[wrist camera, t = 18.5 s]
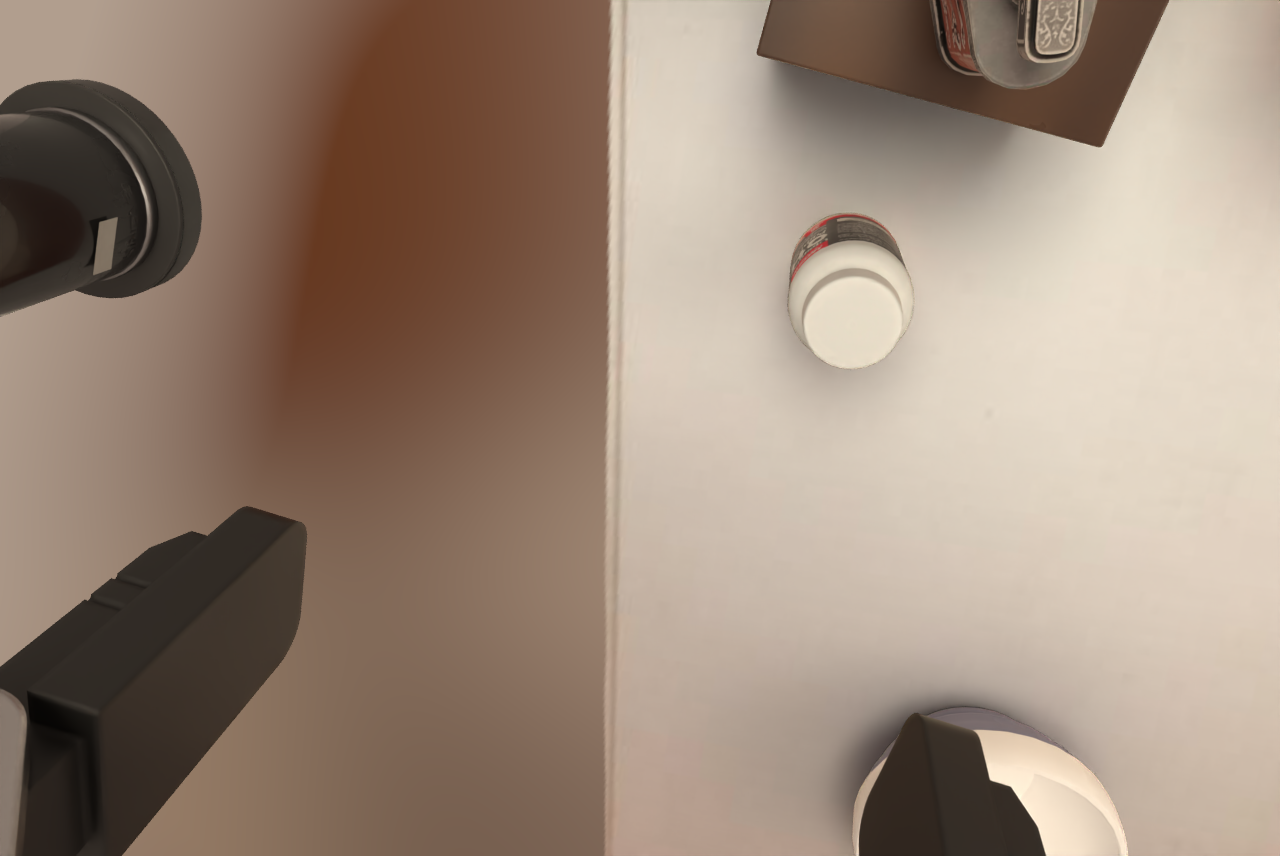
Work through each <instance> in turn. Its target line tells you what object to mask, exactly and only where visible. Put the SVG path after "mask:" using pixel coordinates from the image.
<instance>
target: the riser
mask: <svg viewBox="0 0 1280 856" xmlns="http://www.w3.org/2000/svg"><path fill="white" fill-rule="evenodd" d="M1168 2H1169V0H1097V4H1096V7H1095V11H1094V14H1093V18H1092V22H1091V25H1090V29H1089V32H1088V36H1087V40H1086V43H1085V46H1084V48H1083V50H1082V52H1081V54H1080V56H1079V58H1078V60H1077V62H1076V63H1075V64H1074V65H1073V66H1072V67H1071V68H1070V69H1069V70H1068V71H1067V72H1066V73H1065V74H1064V75H1063V76H1061V77H1059V78H1057V79H1056V80H1054V81H1052V82H1050V83H1049V84H1047V85H1044V86H1040V87H1036V88H1031V89H1027V90H1025V89H1009V88H1005V87H1002V86H1000V85H998V84H995V83H993V82H990V81H988V80H987V79H986V78H985V77H984V76H975V75H965V74H962V73H960V72H958V71H955V70H953V69H950V68H949V67H948V66H947V65H946V64H945V63H944V62H943V61H942V60H941V57H940V55H939V52H938V49H937V45H936V38H935V32H934V26H933V19H932V13H931V7H930V1H929V0H771V1H770V5H769V9H768V12H767V16H766V20H765V23H764V27H763V31H762V34H761V38H760V42H759V45H758V49H757V55H758V56H762V57H766V58H769V59H773V60H777V61H780V62H784V63H788V64H792V65H795V66H799V67H803V68H806V69H810V70H814V71H817V72H821V73H825V74H829V75H832V76H836V77H840V78H843V79H847V80H851V81H854V82H858V83H862V84H866V85H869V86H873V87H877V88H880V89H884V90H888V91H892V92H895V93H899V94H903V95H906V96H910V97H914V98H917V99H921V100H925V101H929V102H932V103H936V104H940V105H943V106H947V107H951V108H955V109H958V110H962V111H966V112H969V113H973V114H977V115H980V116H984V117H988V118H992V119H995V120H999V121H1003V122H1006V123H1010V124H1014V125H1018V126H1021V127H1025V128H1029V129H1032V130H1036V131H1040V132H1043V133H1047V134H1051V135H1055V136H1058V137H1062V138H1066V139H1069V140H1073V141H1077V142H1080V143H1084V144H1088V145H1092V146H1095V147H1102V146H1103V144H1104V141H1105V139H1106V137H1107V135H1108V133H1109V131H1110V128H1111V126H1112V124H1113V122H1114V120H1115V117H1116V115H1117V113H1118V111H1119V109H1120V107H1121V104H1122V102H1123V100H1124V98H1125V96H1126V93H1127V91H1128V89H1129V87H1130V85H1131V83H1132V80H1133V78H1134V76H1135V74H1136V72H1137V69H1138V67H1139V65H1140V63H1141V61H1142V59H1143V56H1144V54H1145V52H1146V50H1147V48H1148V45H1149V43H1150V41H1151V39H1152V37H1153V35H1154V32H1155V30H1156V28H1157V26H1158V24H1159V21H1160V19H1161V17H1162V15H1163V13H1164V11H1165V8H1166V6H1167V4H1168Z"/></svg>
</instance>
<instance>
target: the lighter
mask: <svg viewBox="0 0 1280 856" xmlns="http://www.w3.org/2000/svg"><path fill="white" fill-rule="evenodd" d="M929 1H930V7H931V13H932V19H933V26H934V32H935V38H936V45H937V49H938V52H939V55H940V57H941V60H942V61H943V62H944V63H945V64H946V65H947V66H948V67H949V68H950V69H953V70H955V71H958V72H960V73H962V74H965V75H975V76H984V77H985V78H986V79H987V80H988V81H990V82H993V83H995V84H998V85H1000V86H1002V87H1005V88H1009V89H1025V90H1027V89H1031V88H1036V87H1040V86H1044V85H1047V84H1049V83H1050V82H1052V81H1054V80H1056V79H1057V78H1059V77H1061V76H1063V75H1064V74H1065V73H1066V72H1067V71H1068V70H1069V69H1070V68H1071V67H1072V66H1073V65H1074V64H1075V63H1076V62H1077V60H1078V58H1079V56H1080V54H1081V52H1082V50H1083V48H1084V46H1085V43H1086V40H1087V36H1088V32H1089V29H1090V25H1091V22H1092V18H1093V14H1094V11H1095V7H1096V4H1097V0H929Z"/></svg>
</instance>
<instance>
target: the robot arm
mask: <svg viewBox="0 0 1280 856" xmlns="http://www.w3.org/2000/svg"><path fill="white" fill-rule="evenodd" d="M157 228H158V208H157V202H156V197H155V193H154V190H153V187H152V184H151V181H150V179H149V176H148V174H147V172H146V170H145V168H144V166H143V165H142V163H141V161H140V160H139V158H138V157H137V155H136V154H135V152H134V151H133V150H132V148H131V147H130V146H129V145H128V144H127V143H126V141H125V140H124V139H123V138H122V137H121V136H120V135H119V134H117V133H116V132H115V131H114V130H113V129H112V128H110V127H109V126H108V125H106V124H105V123H103V122H102V121H100V120H99V119H97V118H95V117H93V116H91V115H89V114H87V113H85V112H82V111H79V110H76V109H71V108H66V107H47V108H38V109H32V110H28V111H26V112H20V113H11V114H2V115H0V317H2V316H4V315H7V314H10V313H13V312H15V311H18V310H21V309H24V308H26V307H29V306H32V305H35V304H37V303H40V302H43V301H46V300H48V299H51V298H54V297H57V296H59V295H62V294H65V293H68V292H71V291H74V290H76V289H79V288H82V287H85V286H87V285H90V284H93V283H96V282H98V281H103V280H108V279H112V278H115V277H118V276H121V275H123V274H126V273H128V272H130V271H132V270H133V269H135V268H137V267H138V266H139V265H140V264H141V263H142V262H143V261H144V260H145V259H146V257H147V256H148V254H149V253H150V251H151V249H152V247H153V245H154V242H155V239H156V235H157ZM306 542H307V531H306V527H305V525H304V524H303V523H302V522H298V521H295V520H292V519H288V518H285V517H282V516H279V515H276V514H272V513H269V512H266V511H263V510H259V509H256V508H253V507H248V506H246V507H242V508H241V509H239V510H237V511H236V512H235V513H234V514H233V515H231V516H230V517H229V518H228V519H227V520H226V521H224V522H223V523H222V524H221V525H220V526H218V527H217V528H216V529H215V530H214V531H213V532H211V533H210V534H209V535H208V536H206V535H203V534H200V533H196V532H193V531H191V532H188V533H186V534H183V535H181V536H178V537H176V538H173V539H171V540H168V541H166V542H163V543H161V544H158V545H156V546H153V547H151V548H149V549H148V550H146V551H145V552H144V553H143V554H141V555H140V556H139V557H138V558H136V559H135V560H134V561H133V562H131V563H130V564H129V565H128V566H126V567H125V568H124V569H123V570H121V571H120V572H119V573H118V575H117V577H116V579H112V578H111V579H110V580H109V581H107V582H106V583H105V584H104V585H102V586H101V587H100V588H99V589H97V590H96V591H95V592H94V593H92V594H91V598H90V599H89V600H88V601H87V600H84V601H82V602H81V603H80V604H79V605H77V606H76V607H75V608H74V609H72V610H71V611H70V612H69V613H67V614H66V615H65V616H63V617H62V618H61V619H60V620H59V621H57V622H56V623H55V624H53V625H52V626H51V627H50V628H48V629H47V630H46V631H45V632H43V633H42V634H41V635H40V636H38V637H37V638H36V639H35V640H33V641H32V642H31V643H30V644H29V645H27V646H26V647H25V648H23V649H22V650H21V651H20V652H18V653H17V654H16V655H15V656H13V657H12V658H11V659H10V660H8V661H7V662H6V663H5V664H3V665H2V666H1V667H0V856H122V855H123V853H124V852H125V851H126V850H127V848H128V847H129V846H130V845H131V844H132V843H133V841H134V840H135V839H136V837H137V836H138V835H139V834H140V833H141V832H142V830H143V829H144V828H145V827H146V826H147V824H148V823H149V822H150V821H151V820H152V818H153V817H154V816H155V815H156V813H157V812H158V811H159V810H160V809H161V807H162V806H163V805H164V804H165V802H166V801H167V800H168V799H169V798H170V796H171V795H172V794H173V793H174V792H175V790H176V789H177V788H178V787H179V785H180V784H181V783H182V782H183V781H184V779H185V778H186V777H187V776H188V775H189V773H190V772H191V771H192V770H193V768H194V767H195V766H196V765H197V764H198V762H199V761H200V760H201V758H203V756H204V755H205V754H206V753H207V751H208V750H209V749H210V748H211V747H212V745H213V744H214V743H215V742H216V741H217V739H218V738H219V737H220V736H221V735H222V733H223V732H224V731H225V730H226V728H227V727H228V726H229V725H230V724H231V722H232V721H233V720H234V719H235V718H236V716H237V715H238V714H239V713H240V711H241V710H242V709H243V708H244V707H245V705H246V704H247V703H248V702H249V701H250V699H251V698H252V697H253V696H254V694H255V693H256V692H257V691H258V690H259V688H260V687H261V686H262V685H263V684H264V682H265V681H266V680H267V678H268V677H269V676H270V675H271V674H272V673H273V671H274V670H275V669H276V668H277V667H278V665H279V664H280V663H281V661H282V660H283V659H284V657H285V655H286V654H287V652H288V650H289V648H290V646H291V644H292V642H293V640H294V637H295V635H296V631H297V629H298V625H299V620H300V614H301V603H302V592H303V580H304V568H305V555H306ZM859 856H1046V853H1045V850H1044V846H1043V843H1042V839H1041V836H1040V832H1039V829H1038V826H1037V825H1036V823H1035V822H1034V820H1033V819H1032V817H1031V816H1030V814H1029V813H1028V811H1027V810H1026V808H1025V807H1024V805H1023V804H1022V802H1021V801H1020V799H1019V798H1018V796H1017V795H1016V794H1015V792H1014V791H1013V789H1012V788H1011V787H1010V786H1007V785H1004V784H1001V783H997V782H994V781H991V780H990V778H989V774H988V769H987V765H986V761H985V757H984V753H983V749H982V745H981V741H980V738H979V736H978V734H977V733H976V732H975V731H973V730H970V729H967V728H964V727H960V726H957V725H954V724H951V723H947V722H944V721H941V720H938V719H934V718H931V717H928V716H924V715H921V714H918V713H914V714H912V715H911V716H910V717H909V718H908V719H907V720H906V722H905V724H904V726H903V728H902V730H901V732H900V734H899V736H898V738H897V740H896V742H895V744H894V746H893V748H892V750H891V751H890V753H889V755H888V757H887V759H886V761H885V763H884V765H883V767H882V769H881V771H880V773H879V775H878V777H877V779H876V781H875V783H874V785H873V787H872V789H871V791H870V793H869V795H868V798H867V800H866V803H865V806H864V810H863V814H862V818H861V823H860V830H859Z"/></svg>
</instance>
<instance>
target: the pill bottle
mask: <svg viewBox="0 0 1280 856" xmlns="http://www.w3.org/2000/svg"><path fill="white" fill-rule="evenodd" d="M913 309H914V292H913V286H912V282H911V278H910V276H909V274H908V272H907V269H906V267H905V264H904V262H903V260H902V257H901V253H900V251H899V248H898V246H897V244H896V241H895V240H894V238H893V236H892V235H891V233H890V232H889V231H888V230H887V229H886V228H885V227H884V226H883V225H882V224H881V223H879V222H878V221H877V220H875V219H873V218H871V217H869V216H866V215H862V214H858V213H839V214H834V215H831V216H828V217H825V218H824V219H822V220H820V221H818V222H817V223H815V224H814V225H812V226H811V227H810V228H809V229H808V230H807V231H806V232H805V233H804V234H803V236H802V237H801V238H800V240H799V241H798V243H797V245H796V247H795V250H794V253H793V256H792V261H791V268H790V284H789V293H788V312H789V317H790V320H791V324H792V326H793V329H794V331H795V333H796V334H797V336H798V337H799V339H800V340H801V341H802V342H803V344H804V345H805V346H806V347H808V348H809V349H810V350H811V351H813V353H814V354H815V355H816V356H817V357H818V358H819V359H821V360H822V361H824V362H825V363H827V364H829V365H832V366H835V367H838V368H843V369H859V368H864V367H867V366H870V365H873V364H875V363H877V362H879V361H880V360H882V359H883V358H884V357H886V356H887V355H888V354H889V353H890V352H891V351H892V349H893V348H894V347H895V345H896V344H897V342H898V341H899V340H900V338H901V337H902V336H903V334H904V333H905V331H906V329H907V328H908V325H909V323H910V321H911V318H912V314H913Z"/></svg>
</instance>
